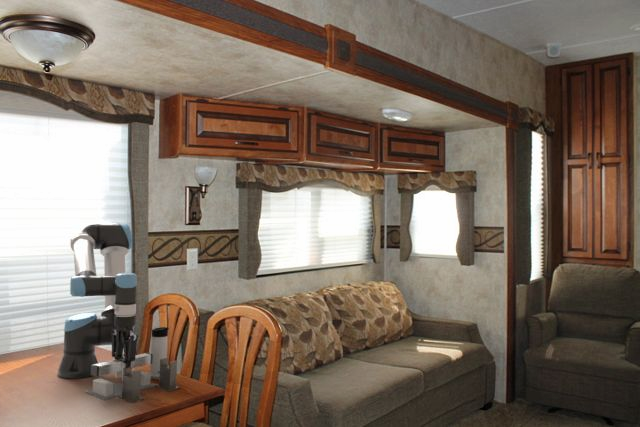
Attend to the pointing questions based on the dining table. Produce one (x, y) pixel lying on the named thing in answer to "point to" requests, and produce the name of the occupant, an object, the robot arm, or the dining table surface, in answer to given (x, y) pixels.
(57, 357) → the dining table surface
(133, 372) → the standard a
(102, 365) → the rail
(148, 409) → the dining table surface
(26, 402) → the dining table surface
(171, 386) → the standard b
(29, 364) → the dining table surface
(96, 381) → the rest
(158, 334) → the travel mug
